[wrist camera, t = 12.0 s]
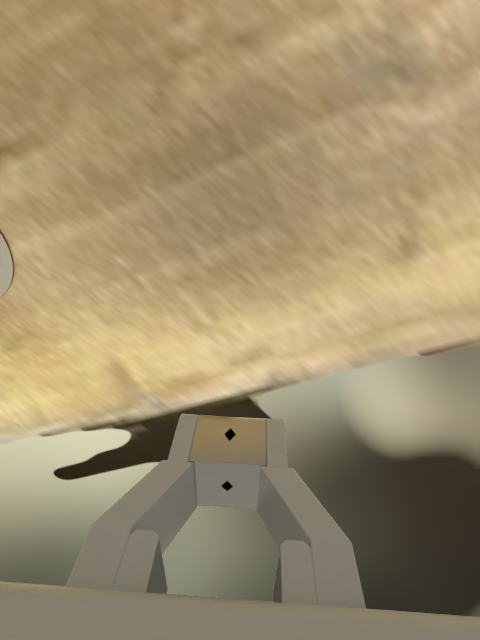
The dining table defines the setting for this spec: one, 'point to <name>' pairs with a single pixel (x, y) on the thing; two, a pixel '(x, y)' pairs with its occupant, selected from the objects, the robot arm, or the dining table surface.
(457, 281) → the dining table surface
